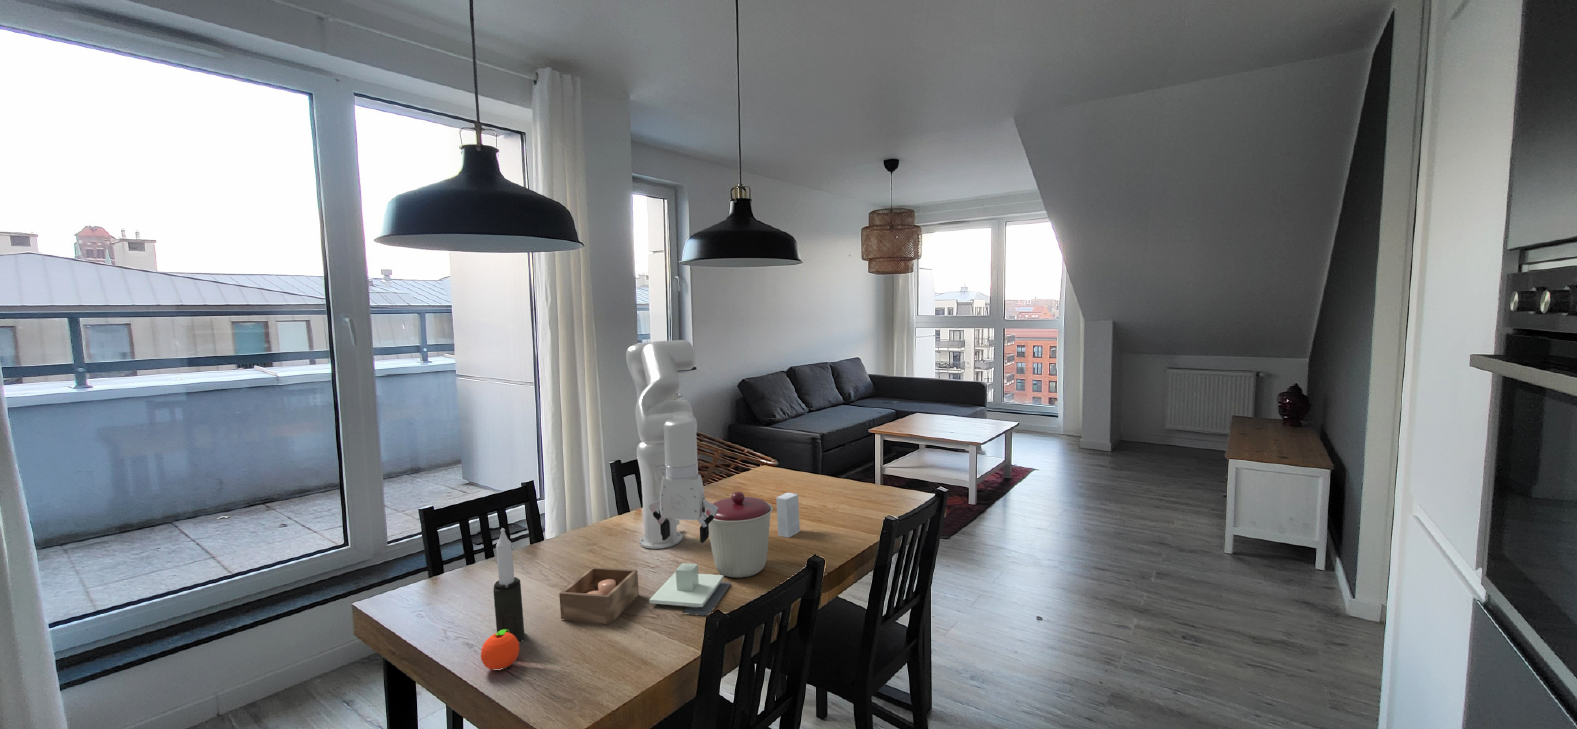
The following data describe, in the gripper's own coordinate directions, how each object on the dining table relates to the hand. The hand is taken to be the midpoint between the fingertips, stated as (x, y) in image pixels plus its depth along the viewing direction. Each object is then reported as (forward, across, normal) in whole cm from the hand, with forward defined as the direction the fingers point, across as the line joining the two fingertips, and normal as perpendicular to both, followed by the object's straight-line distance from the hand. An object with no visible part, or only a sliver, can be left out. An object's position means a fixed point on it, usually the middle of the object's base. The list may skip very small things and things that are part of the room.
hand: (685, 539), depth 147 cm
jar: (+13, -17, -13) cm, 25 cm away
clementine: (+14, -25, -34) cm, 45 cm away
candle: (+14, -29, -26) cm, 42 cm away
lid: (+13, +1, -1) cm, 14 cm away
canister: (+15, +9, +16) cm, 23 cm away
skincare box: (+15, +16, +43) cm, 48 cm away
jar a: (+14, -17, -7) cm, 23 cm away
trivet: (+14, +1, -1) cm, 14 cm away
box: (+14, -17, -10) cm, 25 cm away
